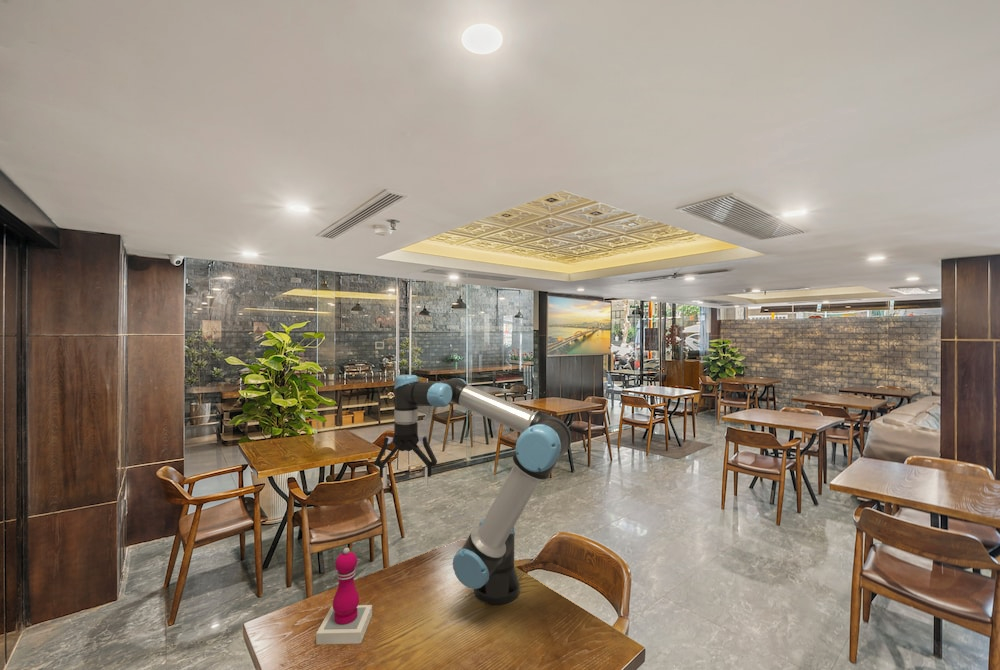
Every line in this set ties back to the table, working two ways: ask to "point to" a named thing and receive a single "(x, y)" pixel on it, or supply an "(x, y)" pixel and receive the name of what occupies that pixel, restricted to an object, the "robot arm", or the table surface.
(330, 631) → the base
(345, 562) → the pepper mill
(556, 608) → the table surface
